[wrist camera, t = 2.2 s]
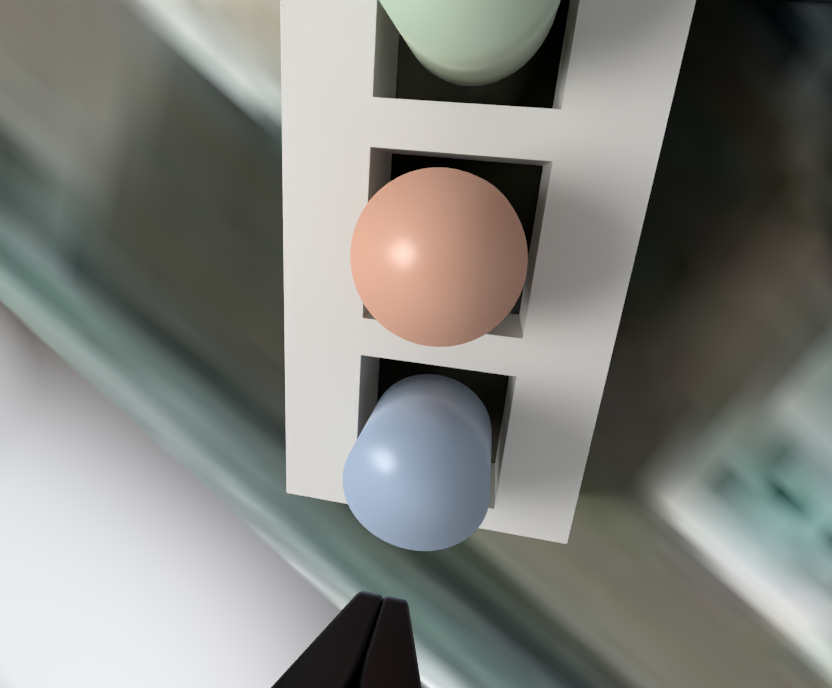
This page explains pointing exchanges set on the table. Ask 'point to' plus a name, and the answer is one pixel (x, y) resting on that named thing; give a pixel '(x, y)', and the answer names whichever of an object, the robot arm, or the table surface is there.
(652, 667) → the table surface
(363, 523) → the slate button
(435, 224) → the terracotta button
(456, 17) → the sage button
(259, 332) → the table surface
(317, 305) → the panel
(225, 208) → the table surface
